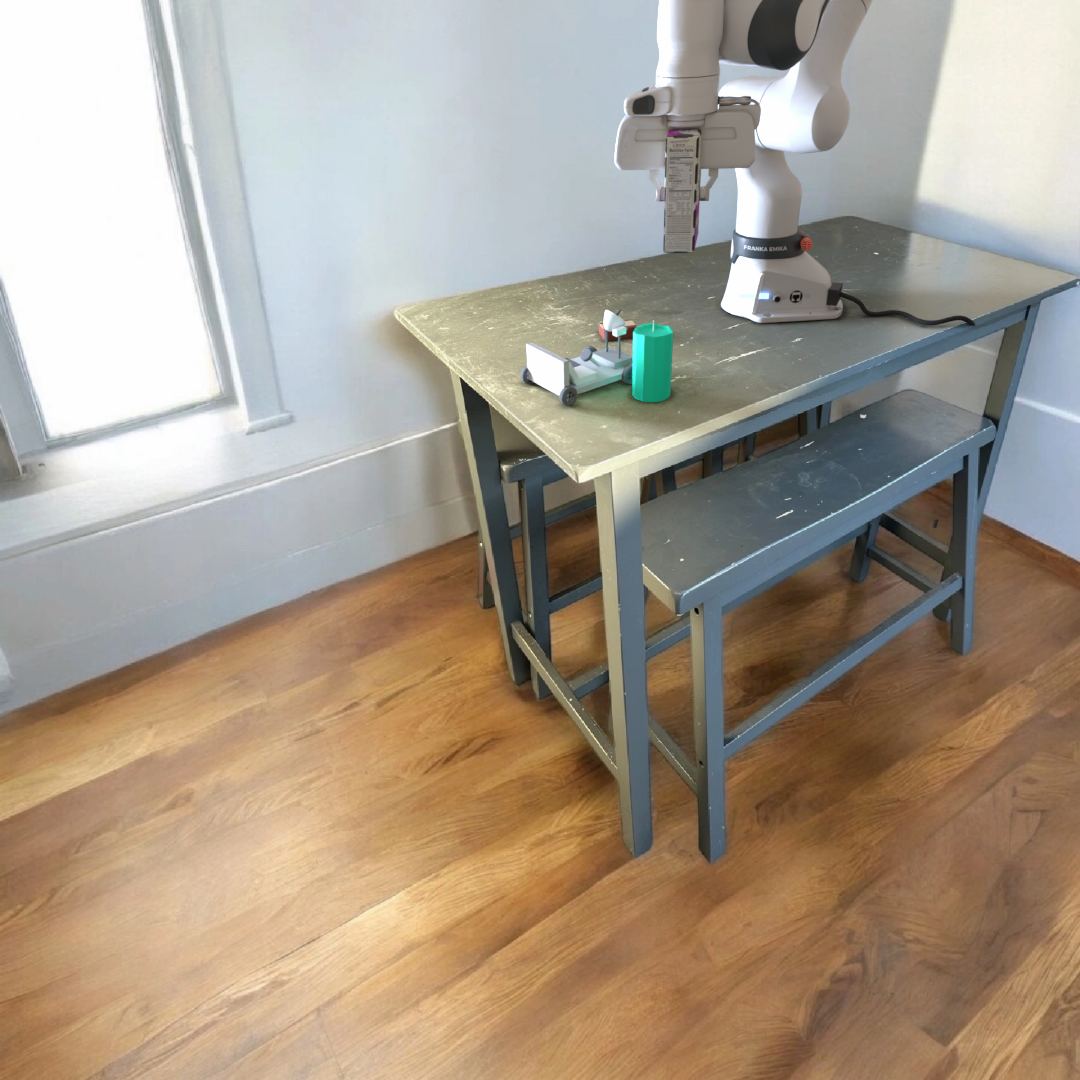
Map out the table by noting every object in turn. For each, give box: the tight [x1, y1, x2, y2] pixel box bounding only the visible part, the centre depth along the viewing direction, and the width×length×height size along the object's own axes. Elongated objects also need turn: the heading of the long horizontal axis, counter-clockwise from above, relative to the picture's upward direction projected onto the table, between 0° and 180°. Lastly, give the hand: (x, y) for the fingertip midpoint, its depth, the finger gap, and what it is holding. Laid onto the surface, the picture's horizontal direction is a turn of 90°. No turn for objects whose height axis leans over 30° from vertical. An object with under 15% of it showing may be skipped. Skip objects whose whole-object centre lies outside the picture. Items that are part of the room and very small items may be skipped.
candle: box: [631, 319, 674, 403], centre depth 130 cm, size 6×6×12 cm
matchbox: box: [598, 319, 638, 342], centre depth 154 cm, size 6×4×2 cm, turn 102°
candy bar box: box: [662, 129, 702, 254], centre depth 127 cm, size 11×5×16 cm, turn 168°
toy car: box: [519, 308, 633, 407], centre depth 136 cm, size 18×10×12 cm
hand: (682, 200), depth 128 cm, fingers closed on candy bar box, 5 cm apart
